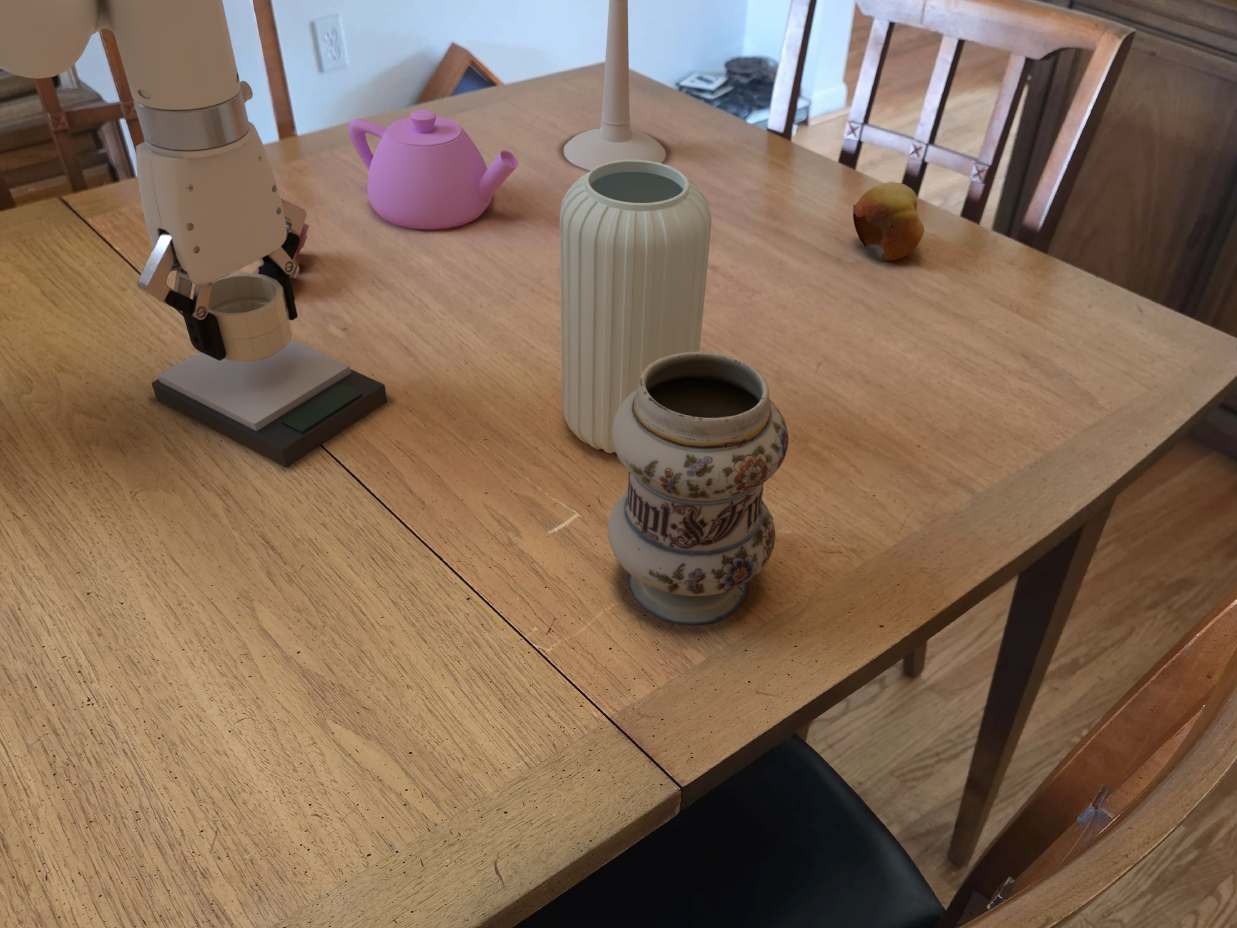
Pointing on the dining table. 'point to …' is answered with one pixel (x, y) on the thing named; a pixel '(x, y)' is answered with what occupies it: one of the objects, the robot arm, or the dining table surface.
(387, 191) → the teapot
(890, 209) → the fruit
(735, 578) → the apothecary jar
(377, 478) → the dining table surface
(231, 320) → the ring
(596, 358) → the vase
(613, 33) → the candlestick
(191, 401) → the scale
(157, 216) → the robot arm
